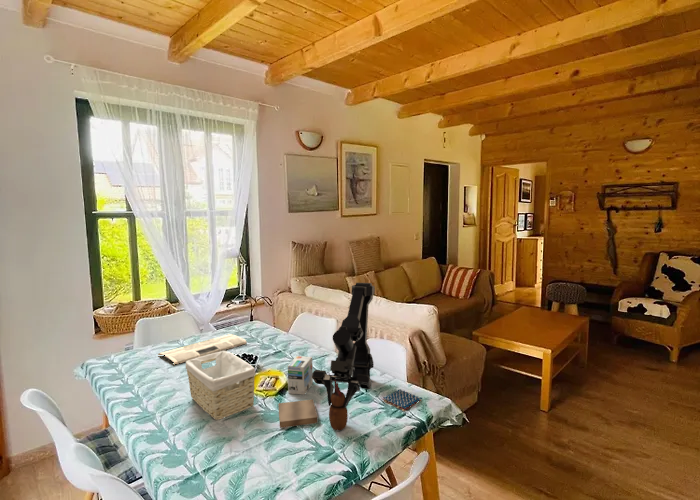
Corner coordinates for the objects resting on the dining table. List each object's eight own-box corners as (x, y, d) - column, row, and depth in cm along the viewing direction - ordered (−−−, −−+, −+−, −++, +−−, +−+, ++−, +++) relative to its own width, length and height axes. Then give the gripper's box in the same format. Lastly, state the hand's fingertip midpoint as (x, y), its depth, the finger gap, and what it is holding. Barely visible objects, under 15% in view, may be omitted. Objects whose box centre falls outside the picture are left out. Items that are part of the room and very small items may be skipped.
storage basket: (258, 407, 136) (257, 366, 135) (213, 425, 125) (211, 381, 124) (227, 385, 154) (226, 348, 152) (185, 399, 143) (183, 360, 141)
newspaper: (174, 367, 173) (173, 360, 173) (156, 356, 186) (156, 350, 186) (246, 345, 200) (246, 339, 200) (227, 336, 213) (226, 331, 213)
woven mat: (399, 392, 146) (399, 387, 146) (422, 402, 139) (422, 397, 139) (380, 402, 139) (380, 397, 139) (404, 413, 132) (404, 407, 131)
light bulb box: (304, 395, 144) (304, 367, 143) (287, 393, 146) (286, 366, 144) (313, 382, 155) (312, 356, 154) (297, 381, 156) (296, 355, 155)
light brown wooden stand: (313, 404, 137) (313, 399, 137) (317, 422, 126) (317, 417, 125) (278, 408, 135) (278, 403, 134) (279, 427, 123) (279, 421, 123)
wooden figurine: (329, 422, 126) (328, 377, 124) (346, 420, 126) (346, 376, 125) (329, 434, 119) (328, 387, 118) (348, 432, 120) (347, 386, 118)
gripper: (313, 345, 126) (301, 394, 117) (369, 350, 122) (362, 401, 112) (321, 360, 135) (311, 406, 125) (374, 364, 130) (367, 413, 121)
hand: (336, 406), depth 121 cm, fingers closed on wooden figurine, 5 cm apart
